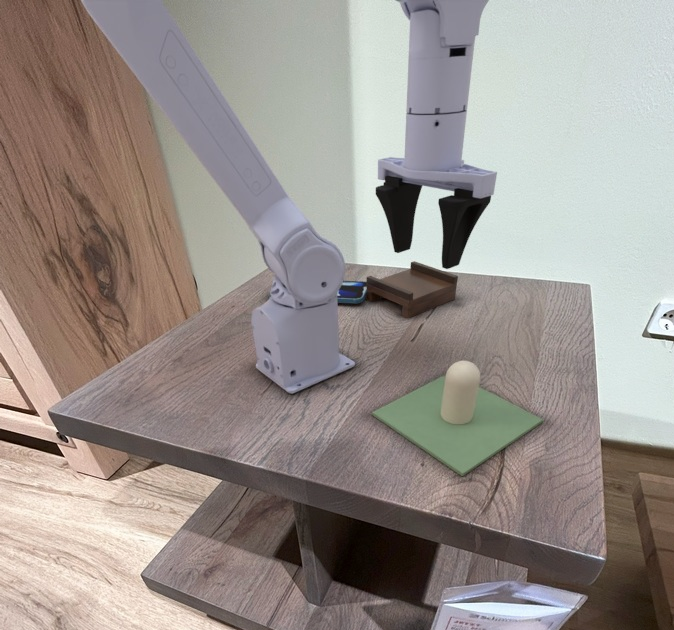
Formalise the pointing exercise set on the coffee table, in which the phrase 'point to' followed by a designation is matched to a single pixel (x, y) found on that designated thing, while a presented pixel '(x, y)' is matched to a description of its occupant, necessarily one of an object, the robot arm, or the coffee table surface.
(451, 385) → the beige rounded peg
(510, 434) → the mat
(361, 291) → the smartphone
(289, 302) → the robot arm
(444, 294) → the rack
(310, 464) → the coffee table surface
